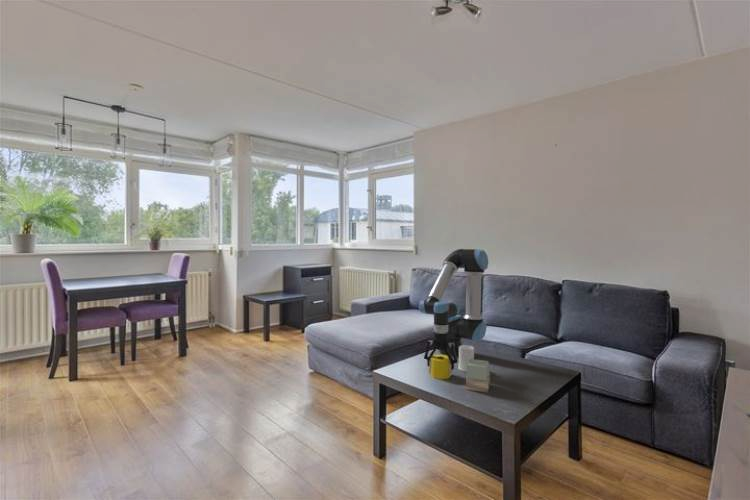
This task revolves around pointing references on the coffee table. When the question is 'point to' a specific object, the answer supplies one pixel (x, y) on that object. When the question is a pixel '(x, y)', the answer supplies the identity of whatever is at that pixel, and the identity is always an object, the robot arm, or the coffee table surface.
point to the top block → (477, 369)
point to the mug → (465, 356)
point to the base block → (478, 384)
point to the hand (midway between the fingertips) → (440, 373)
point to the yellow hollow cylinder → (440, 366)
